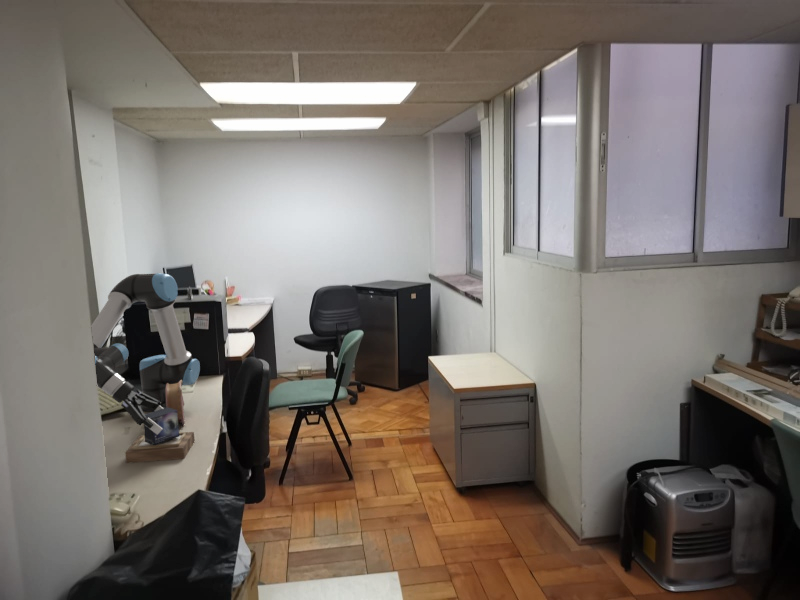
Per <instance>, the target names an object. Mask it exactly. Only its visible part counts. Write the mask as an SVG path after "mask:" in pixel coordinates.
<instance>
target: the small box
mask: <svg viewBox="0 0 800 600" xmlns="http://www.w3.org/2000/svg"><path fill="white" fill-rule="evenodd" d="M144 414H145V416H146V418H148V417H149V418H150V419H151V420H153V421H154V422H155V423H156V424H158V425H159V426H160V427H162V428H163V429H162V430H161V431H160V433H159V434H158V435H157V434H156V433H154V432H153V431H152V430H150V429H149V428H148V427H147V426H145V425H144V424H143V430H144V431H143V432H144V433H143V434H144V435H145V442H147V443H149V444H152V445H156V444H159V443H162V442H165V441H168V440H170V439H173V438H176V437H179V433H180V430H179V427H180V426H179V422H178V415H177V410H175V409H172V408H169V407H167V408H164V409H161V410H157V411H150V412H148V413H144Z"/></svg>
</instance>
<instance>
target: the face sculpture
mask: <svg viewBox="0 0 800 600" xmlns="http://www.w3.org/2000/svg"><path fill="white" fill-rule="evenodd" d="M182 383H183V381H182V380H180V381H179V382H178V383H176V384H169V383H167V384H166V389H165V392H166V393H165V394H166V407H169V408H172V409H175V410H177V415H178V423H181V425H184V424H185V423H186V421H184V420H185V414H184V413H185V412H184V411H185V410H184V406H185V401H184V396H183V388H182V387H183V385H182ZM184 426H185V425H184Z"/></svg>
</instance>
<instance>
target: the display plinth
mask: <svg viewBox="0 0 800 600" xmlns="http://www.w3.org/2000/svg"><path fill="white" fill-rule="evenodd" d="M194 441H195V431H183V432H179V437H176V438H173V439H170V440H168V441H165V442H162V443H159V444H156V445H152V444H149V443H147V442H145V434H144V435H139V436H138V438H136V439H135V440H134V441H133V443H132V444H131V445H130V446H129V447H128V449H126V451H124V455H125V461H126V464H128V463H129V464H130V462H133V463H143V462H144V461H146V462H157V460H159V461H169V459H171V460H182V459H183V460H184V459H185V458H186V456H187V455H188V453H189V451H190V450H191V449H190V448H192V447H193V445H194V444H195V442H196V441H195V442H194ZM193 443H194V444H193ZM191 446H192V447H191ZM144 463H145V462H144Z"/></svg>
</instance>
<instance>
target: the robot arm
mask: <svg viewBox="0 0 800 600" xmlns="http://www.w3.org/2000/svg"><path fill="white" fill-rule="evenodd" d="M178 290H179V288H178V284H177V282H176V279H175V278H174V277H173V276H172V275H171V274H168V273H159V272H158V273H135V274H131V275H129V276H126V277H125V278H123V279H121V281H119V282H118V283H117V284H116V285H115V286H114V287H113V288H112V289H111V291H110V292H109V294H108V295H107V301H106V303H105V304H104V306H103V307H102V309H101V311H99V313H98V315H97V316H96V318H95V320H94V321H93V322H92V324H91V325H90V327H92V336H93V344H94V353H95V365H96V374H97V383H98V386H97V387H98V388H99V389H100V390H102V392H103V393H106V394H107V395H109V396H111V398H112V399H113V400H115V402H117V403H120V404H121V405H120V406H121V407H122V408H123V409H124V410H126V412H127V413H128V414H129V416H130V417H131V419H132V420H133V421H135V423H136V424H137V425H139V426H141V425H143V426H144V425H145V426H147V427H148V428H149V429H150V430H152V431H153V432H154V433H156V434H157V435H158V434H159V433H160V431H161V430H162V429H163V428H162V427H160V426H159V425H158V424H156V423H155V422H154V421H153V420H151V419H150V418H149V417H148V418H146V416H145V414H146V413H145V412H154V411H157V410H161V409H164V408H167V407H166V394H165V393H166V392H165V389H166V384H167V383H169V384H176V383H178V382H179V381H180V380H182V381H183V383H182V386H186V385H188V386H189V385H193V384H195V383H196V381H197V380H198V378H199V375H200V371H201V366H200V365H201V364H200V361H199V360H198V359H197V358H193V357H192V353H191V352H190V351H188V350H187V349H186V346H185V342H184V338H183V336H182V332H181V328H180V324H179V322H178V318H177V315H176V312H175V311H176V310H175V308H174V304H175V303H176V299H177V297H178V294H179V292H178ZM137 302H140V303H141V302H143V303H145V305H146V308H147V309H148V310H150V311H152V315H153V318H154V322H155V324H156V328H157V331H158V333H159V336H160V337H159V338H160V341H161V343H162V345H163V349H164V352H165V354H158V355H153V356H148V357H146V358H143V359H142V360H140V362H139V375H140V383H141V384H140V385H141V390H140V389H138V388H137V389H136V390H135V391H134V389H135V386H134V385H133V384H132V383H131V382H129V381H127V380H126V379H125V378H124V377H123V376H122V375H121V374H119V373H118V372H117V371H116V369H118V368H119V367H120V366H121V365H123V364H124V363H125V361H126V360H127V359H128V357H129V350H128V347H126V346H125V345H124V344H123V343H120V342H118V343H114V344H112V345H110V346H109V347H103V346H104V344H105V343H106V341H107V339H108V338H109V336H110V335H111V334H112V332H113V330H114V328H115V327H116V326H117V324H118V322H119V321H120V319H121V318H122V316H123V314H124V312H125V311H126V310H128V309H130V308H131V307H132V305H133V304H134V303H137Z"/></svg>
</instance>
